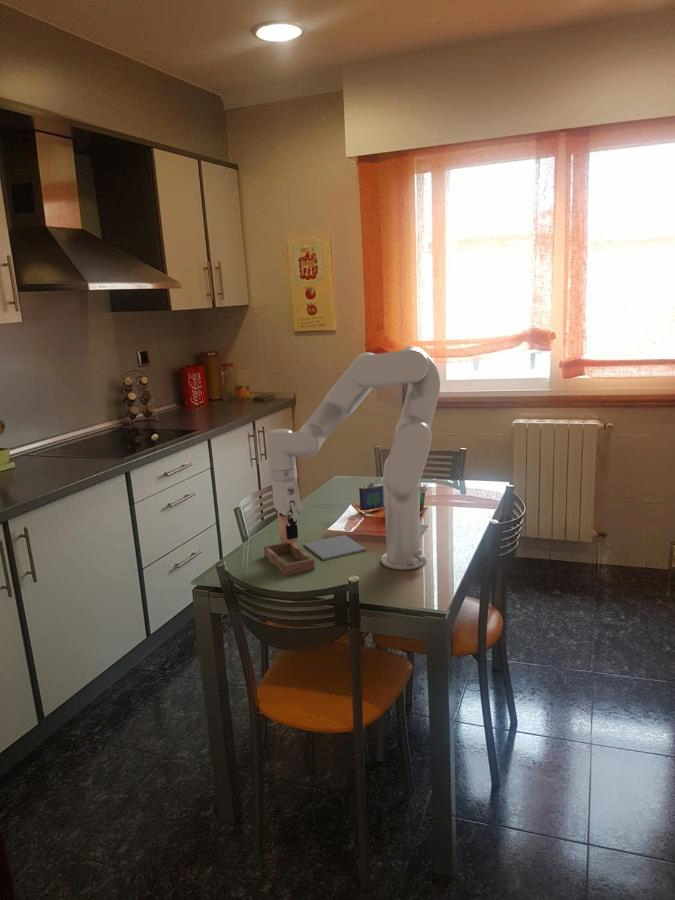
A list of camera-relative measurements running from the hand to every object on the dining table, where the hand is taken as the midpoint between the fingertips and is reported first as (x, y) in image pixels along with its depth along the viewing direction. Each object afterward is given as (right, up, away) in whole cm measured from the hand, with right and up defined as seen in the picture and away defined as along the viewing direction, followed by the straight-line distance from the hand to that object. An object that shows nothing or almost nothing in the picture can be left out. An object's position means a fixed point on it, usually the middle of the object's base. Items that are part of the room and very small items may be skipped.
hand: (288, 534), depth 186 cm
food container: (+38, +2, +38) cm, 54 cm away
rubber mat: (+13, -5, +11) cm, 18 cm away
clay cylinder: (0, -1, 0) cm, 2 cm away
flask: (+26, +3, +45) cm, 52 cm away
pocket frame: (0, -8, +2) cm, 8 cm away
